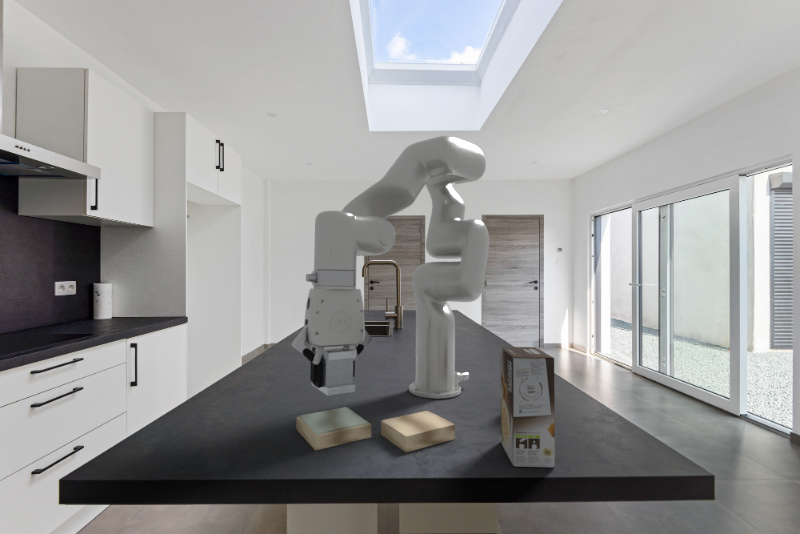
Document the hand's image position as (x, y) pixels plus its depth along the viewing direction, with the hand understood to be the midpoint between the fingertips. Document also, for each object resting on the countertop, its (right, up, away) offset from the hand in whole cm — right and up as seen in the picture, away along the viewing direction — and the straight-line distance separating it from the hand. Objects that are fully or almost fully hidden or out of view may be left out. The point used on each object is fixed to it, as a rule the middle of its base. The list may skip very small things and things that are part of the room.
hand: (332, 382), depth 68 cm
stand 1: (0, -9, 0) cm, 9 cm away
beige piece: (+15, -9, -1) cm, 18 cm away
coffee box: (+32, -9, -7) cm, 34 cm away
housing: (0, -1, 0) cm, 1 cm away
